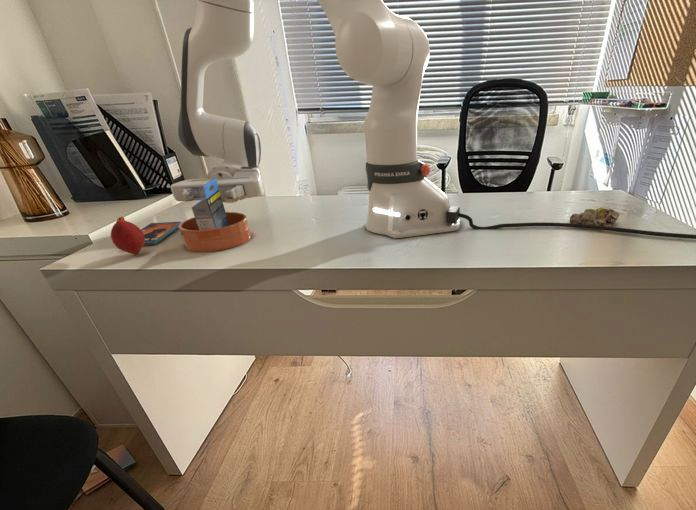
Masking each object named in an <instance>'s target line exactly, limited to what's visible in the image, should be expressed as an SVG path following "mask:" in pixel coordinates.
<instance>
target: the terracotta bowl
mask: <svg viewBox="0 0 696 510" xmlns="http://www.w3.org/2000/svg"><path fill="white" fill-rule="evenodd" d="M225 212H226V215H227V218H228V221H229V225H230V226H226V227H221V228H216V229H209V230H199V228H198V225H197V222H196V219H195V216H193V217H191V218H188V219H186V220H183V221H181V222H182V223H180V224H179V227H178V228H177V229H178V230H179V233H180V236H181V238H182V241H183V244H184V246H185V248H186V249H187V250H189V251H192V252H200V253H203V252H204V253H205V252H206V253H209V252H217V251H223V250H228V249H232V248H236V247H238V246H241V245H243V244H246V243H247V242H249V241H250V240H251V239H252V233H251V230H250V226H249V222H248V217H247V215H246V214H244V213H241V212H237V211H236V212H235V211H233V212H232V211H225Z"/></svg>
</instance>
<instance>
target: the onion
mask: <svg viewBox="0 0 696 510" xmlns="http://www.w3.org/2000/svg"><path fill="white" fill-rule="evenodd" d="M141 229H142V228H141ZM141 229H140V227H138V226H137V225H136V224H135V223H133V222H130V221H129V220H128V221H127V220H125V217H124V216H123V215H121V216H118V217H117V219H116V222H115V223H113V225H112V228H111V231H110V239H111V242H112V243H113V245H114V246H115V247H116V248H117V249H119V250H120V251H123V252H125V253H128V254H130V255H134V256H135V255H138V254H139V253H140V252H141V250H142V248H143V247H144V246H145V245H144V244H145V237H144V234H143V232H142V231H141Z"/></svg>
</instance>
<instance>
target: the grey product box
mask: <svg viewBox="0 0 696 510" xmlns="http://www.w3.org/2000/svg"><path fill="white" fill-rule="evenodd" d="M210 186H211V187H212V186H213V188H214V189H213V190H211V191H209V188H210ZM203 189H204V193H205V196H206V197H205V198H204V199H202V200H199V201H198V202H197V203H196V204H194V205H193V206H192V207H191V210H192V213H193V217H195V219H196V222H197V225H198V228H199V230H209V229H216V228H221V227H226V226H230V225H229V221H228V218H227V215H226V212H227V211H226V209H225V205H224V202H222V198H221V195H220V192H219V188H218V183H217V179H216V177H215V178H214V179H213V180H211V181H209V182H208V183H206V184H205V185H203Z"/></svg>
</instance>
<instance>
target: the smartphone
mask: <svg viewBox="0 0 696 510" xmlns="http://www.w3.org/2000/svg"><path fill="white" fill-rule="evenodd" d="M182 222H183V221H166V222H163V221H162V222H151V223H148V224H147V225H146V226H144V227H142V228H141V231H142V232H143V234H144V237H145V244H144V245H143V246H155V245H158V244H159V243H160V242H161V241H162V240H164V239H165V238H167V236H169V235H170V234H172V233H173V232H175V231H176V230H177V229H179V228H178V227H179V224H180V223H182Z"/></svg>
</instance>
